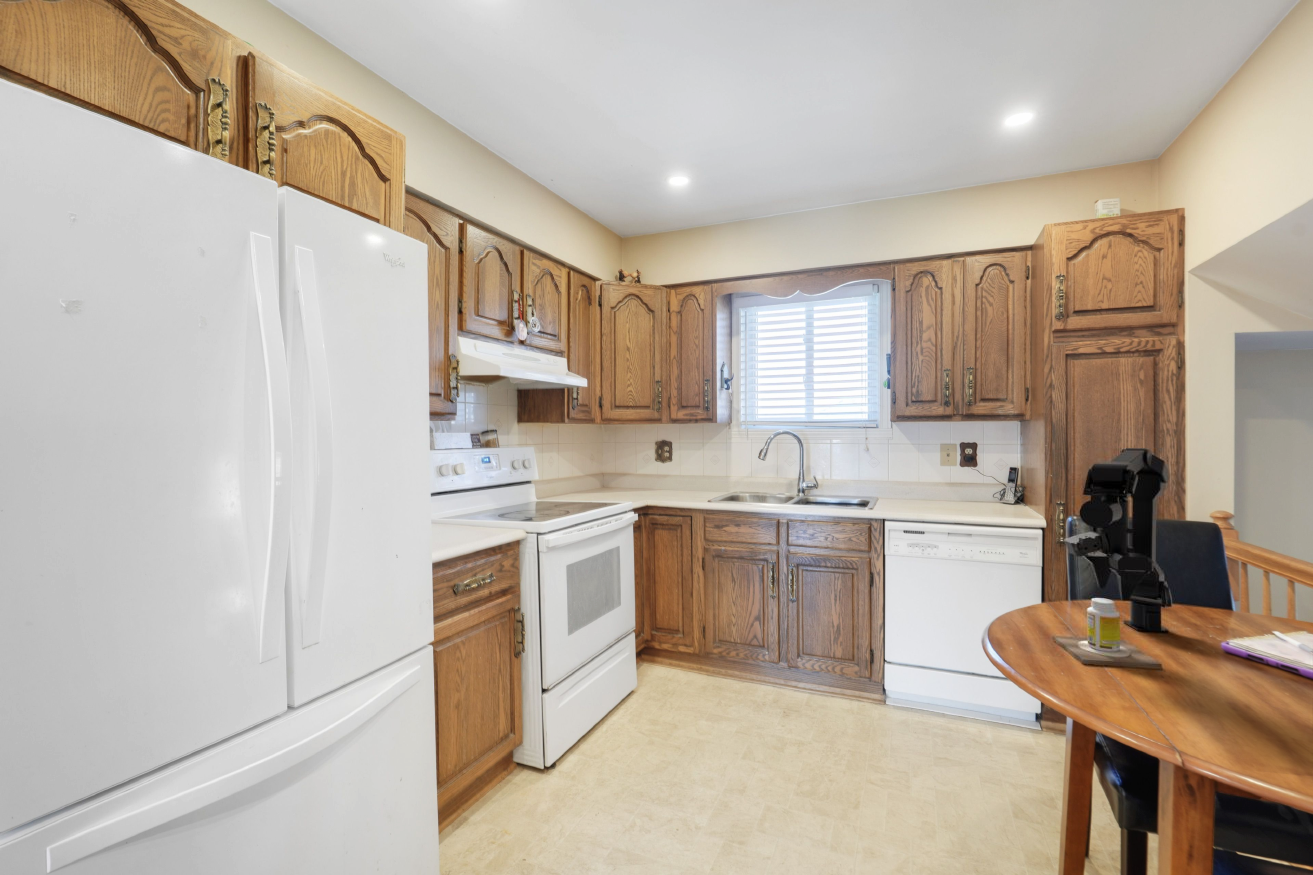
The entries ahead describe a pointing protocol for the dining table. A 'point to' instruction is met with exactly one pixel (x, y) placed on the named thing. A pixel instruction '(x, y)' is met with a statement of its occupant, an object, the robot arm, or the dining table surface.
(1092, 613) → the supplement bottle
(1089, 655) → the board
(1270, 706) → the dining table surface
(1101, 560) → the robot arm
